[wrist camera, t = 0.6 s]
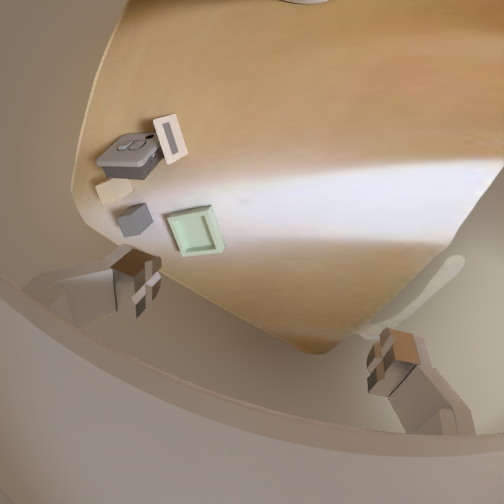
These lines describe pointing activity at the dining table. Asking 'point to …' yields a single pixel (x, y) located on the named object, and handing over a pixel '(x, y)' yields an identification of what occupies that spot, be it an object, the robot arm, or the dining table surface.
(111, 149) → the electrical switch
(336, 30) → the dining table surface
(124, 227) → the grey part
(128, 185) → the beige part
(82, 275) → the robot arm
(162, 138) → the label plate
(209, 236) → the tray
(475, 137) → the dining table surface
